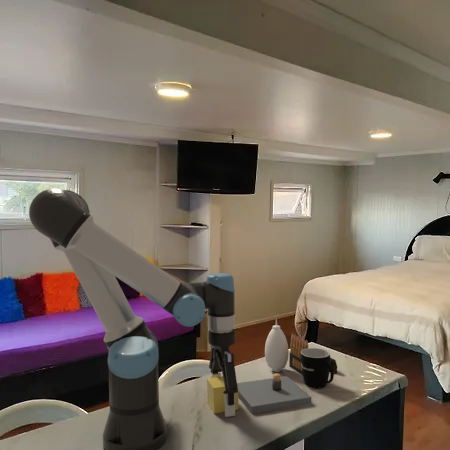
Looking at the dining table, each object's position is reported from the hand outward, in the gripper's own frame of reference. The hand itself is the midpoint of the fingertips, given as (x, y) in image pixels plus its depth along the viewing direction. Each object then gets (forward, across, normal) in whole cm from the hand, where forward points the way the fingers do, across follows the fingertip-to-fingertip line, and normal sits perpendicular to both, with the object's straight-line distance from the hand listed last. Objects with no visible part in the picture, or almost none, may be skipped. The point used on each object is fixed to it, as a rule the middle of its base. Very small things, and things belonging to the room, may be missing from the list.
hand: (223, 405), depth 121 cm
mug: (+1, +3, -32) cm, 32 cm away
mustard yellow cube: (0, 0, 0) cm, 0 cm away
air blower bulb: (0, +19, -25) cm, 31 cm away
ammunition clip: (+1, +16, -32) cm, 36 cm away
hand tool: (+1, +19, -41) cm, 45 cm away
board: (0, +1, -15) cm, 15 cm away
